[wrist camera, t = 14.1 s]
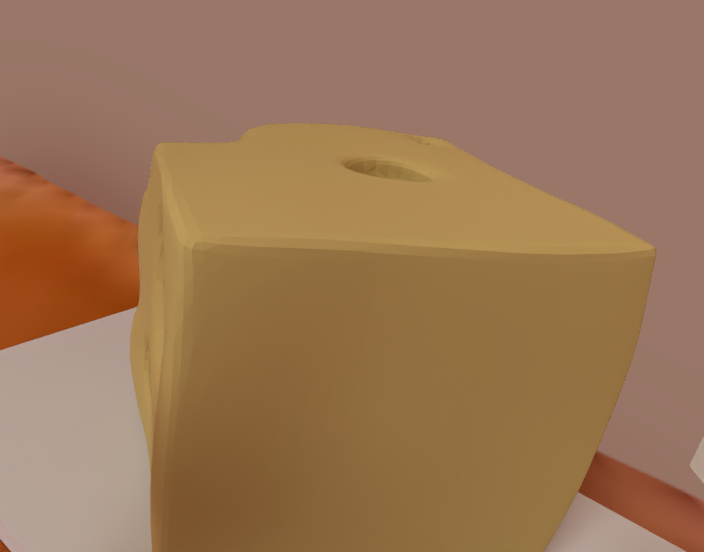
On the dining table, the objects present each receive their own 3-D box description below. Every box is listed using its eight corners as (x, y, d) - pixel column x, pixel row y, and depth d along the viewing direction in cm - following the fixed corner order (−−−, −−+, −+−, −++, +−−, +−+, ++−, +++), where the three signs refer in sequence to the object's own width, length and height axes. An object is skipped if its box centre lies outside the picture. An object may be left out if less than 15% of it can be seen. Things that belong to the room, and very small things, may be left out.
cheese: (128, 393, 21) (129, 100, 17) (404, 370, 25) (457, 130, 21) (147, 694, 12) (158, 239, 8) (564, 584, 16) (707, 244, 12)
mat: (-112, 407, 20) (-116, 387, 19) (202, 300, 30) (202, 286, 29) (841, 1528, 6) (877, 1522, 6) (827, 656, 16) (841, 637, 16)
